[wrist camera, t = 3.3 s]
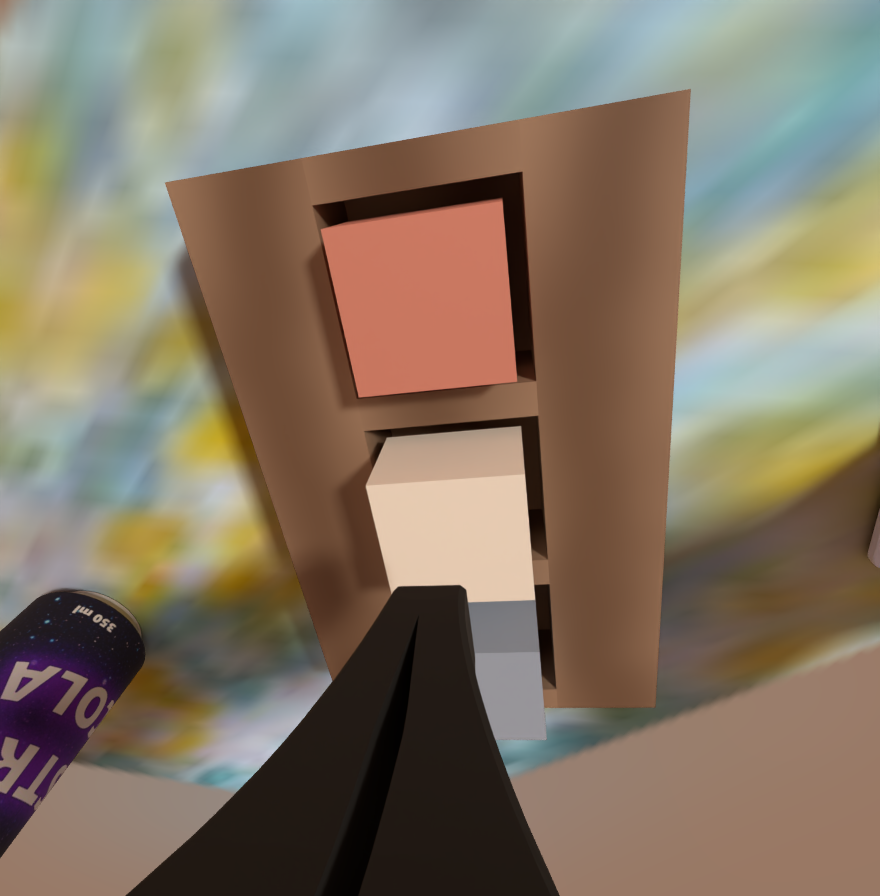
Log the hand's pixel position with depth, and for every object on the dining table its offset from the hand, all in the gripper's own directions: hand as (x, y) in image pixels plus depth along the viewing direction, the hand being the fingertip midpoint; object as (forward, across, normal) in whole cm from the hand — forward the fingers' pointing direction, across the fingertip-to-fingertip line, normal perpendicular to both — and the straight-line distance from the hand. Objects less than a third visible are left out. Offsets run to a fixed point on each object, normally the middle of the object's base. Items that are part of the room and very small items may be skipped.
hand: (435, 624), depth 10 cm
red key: (+7, 0, -5) cm, 9 cm away
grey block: (+6, 0, +7) cm, 9 cm away
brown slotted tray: (+9, 0, +1) cm, 9 cm away
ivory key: (+6, 0, +1) cm, 6 cm away
